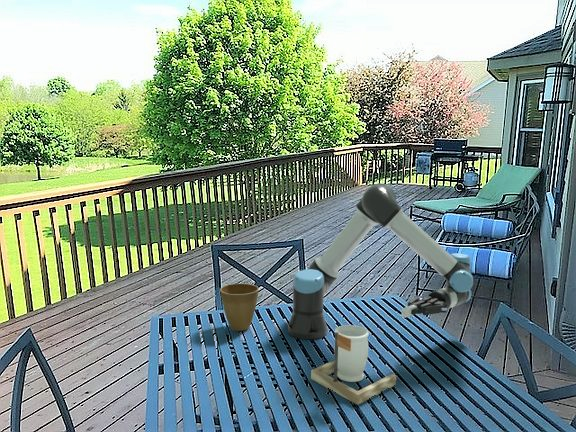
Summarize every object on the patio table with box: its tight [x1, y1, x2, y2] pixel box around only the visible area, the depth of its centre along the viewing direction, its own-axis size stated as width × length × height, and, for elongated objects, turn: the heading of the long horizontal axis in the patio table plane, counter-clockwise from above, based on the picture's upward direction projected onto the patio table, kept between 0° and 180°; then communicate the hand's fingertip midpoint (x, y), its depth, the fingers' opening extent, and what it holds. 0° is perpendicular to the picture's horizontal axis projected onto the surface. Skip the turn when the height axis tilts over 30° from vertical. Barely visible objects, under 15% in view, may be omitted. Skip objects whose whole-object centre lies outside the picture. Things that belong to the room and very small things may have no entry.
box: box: [310, 331, 397, 406], centre depth 143 cm, size 18×19×18 cm
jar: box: [333, 324, 370, 383], centre depth 147 cm, size 11×10×15 cm
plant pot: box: [219, 283, 260, 332], centre depth 185 cm, size 15×15×16 cm
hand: (403, 313), depth 156 cm, fingers closed
